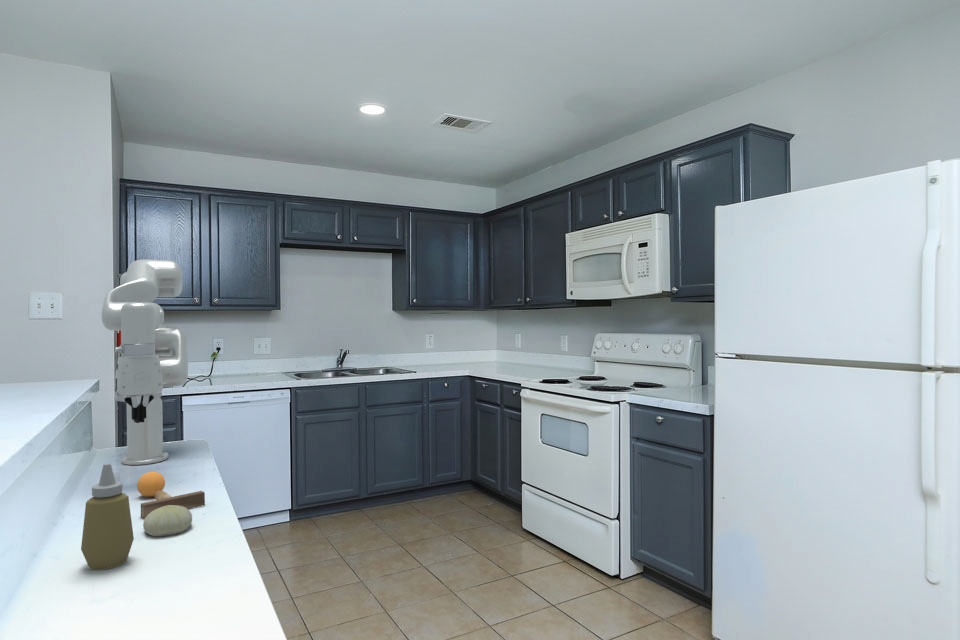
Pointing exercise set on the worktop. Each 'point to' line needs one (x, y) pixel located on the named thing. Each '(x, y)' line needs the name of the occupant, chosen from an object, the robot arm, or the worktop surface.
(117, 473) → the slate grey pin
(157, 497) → the maple pin
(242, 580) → the worktop surface
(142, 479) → the ball
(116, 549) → the squeeze bottle
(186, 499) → the back wall
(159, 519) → the sea urchin shell
